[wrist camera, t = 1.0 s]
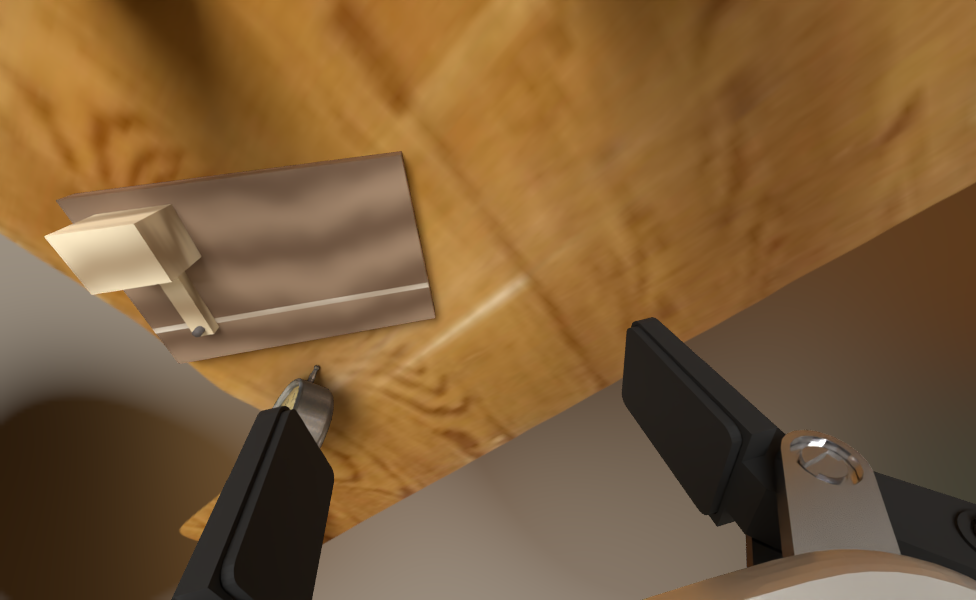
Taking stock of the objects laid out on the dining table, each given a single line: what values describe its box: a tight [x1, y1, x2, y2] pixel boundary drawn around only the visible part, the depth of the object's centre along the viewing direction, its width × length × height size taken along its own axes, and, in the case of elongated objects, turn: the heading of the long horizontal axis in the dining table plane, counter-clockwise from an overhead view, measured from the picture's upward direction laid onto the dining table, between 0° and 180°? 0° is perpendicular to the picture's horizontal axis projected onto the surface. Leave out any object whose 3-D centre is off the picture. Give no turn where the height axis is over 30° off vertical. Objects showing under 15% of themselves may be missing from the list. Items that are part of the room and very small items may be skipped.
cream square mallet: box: [44, 204, 219, 337], centre depth 32 cm, size 13×6×5 cm, turn 5°
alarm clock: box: [273, 365, 334, 448], centre depth 40 cm, size 11×5×16 cm, turn 138°
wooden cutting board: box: [56, 151, 435, 364], centre depth 36 cm, size 18×28×2 cm, turn 95°
